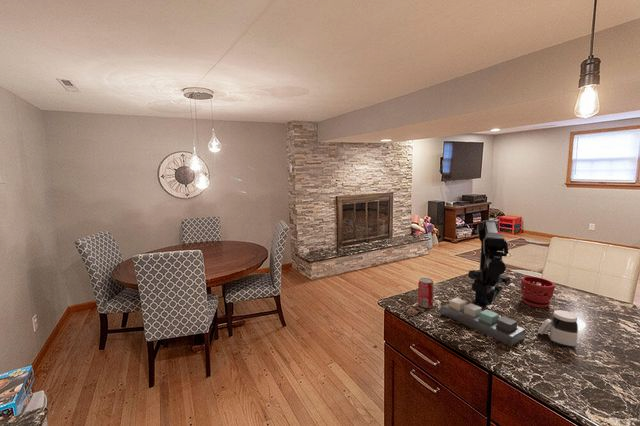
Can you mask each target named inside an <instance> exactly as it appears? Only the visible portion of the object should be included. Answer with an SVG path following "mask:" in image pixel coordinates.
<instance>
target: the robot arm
mask: <svg viewBox="0 0 640 426" xmlns="http://www.w3.org/2000/svg"><path fill="white" fill-rule="evenodd" d="M476 234H477V237H478V239H479V240H480V244H481V245H480V256H479V269H477V270H475V269H471V270H469V271H468V278H470V279H471V280H472V283H471V288H470V289H471V290H472V292H475V294H474V295H475V296H474V299H472V301H471V302H472V303H473V304H474V303H475V304H476V305H480V306H482V307H487V306H489V305H491V304H493V302H494V301H495V300H496V298H497V297H498V295H499V294H500V292H501V291H502V290H503V289H504V287H502V286H500V284H503V283H504V285H505V286H510V285H511V282H512V280H511V278H510V277H508V276H505V275H503V274H505V272H506V269H507V267H506V264H505V262H504V261H503V257H507V256H508V254H509V246H508V242H507V240H506V239H505V237H504V236H503V235H502V234H499V224H498V223H497V221H496V220H494V219H485V220H483V221H482V222H479V223H478V224H477V227H476Z"/></svg>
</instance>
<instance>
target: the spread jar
mask: <svg viewBox="0 0 640 426" xmlns="http://www.w3.org/2000/svg"><path fill="white" fill-rule="evenodd" d="M577 321H578V316H577V315H576V314H575V313H572V312H570V311H567V310H561V309H556V310H554V311H553V316H552V317H551V319H549V318H547V319H546V320H545V321H544V322H543V323H542V324H541V326H540V327H539V329H538V330H537V333H538V334H540V335H541V336H542V335H544V334H545V333H546V332H547V331H548V330H549V340H550V341H551V343H553V344H554V345H556V346H557V347H561V348H565V349H573V348H575V347H576V346H577V341H578V335H579V334H578V333H579V325H578V322H577ZM549 328H550V329H549Z"/></svg>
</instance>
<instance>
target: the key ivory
mask: <svg viewBox="0 0 640 426" xmlns="http://www.w3.org/2000/svg"><path fill="white" fill-rule="evenodd" d="M449 303H450V306H449V307H451V308H453V309H455V310H458V311H462V310H464V306H466V305H468V304H467V301H466V300H464V299H460V298H459V297H454V298H452V299H449Z"/></svg>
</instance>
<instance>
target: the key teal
mask: <svg viewBox="0 0 640 426" xmlns="http://www.w3.org/2000/svg"><path fill="white" fill-rule="evenodd" d="M498 318H500V317H499V313H497V312H494V311H492V310H489V309H485V310H482V312H480V317H479V320H481V321H483V322H486V323H488V324H490V325H494V324H496V323H497V319H498Z"/></svg>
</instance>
